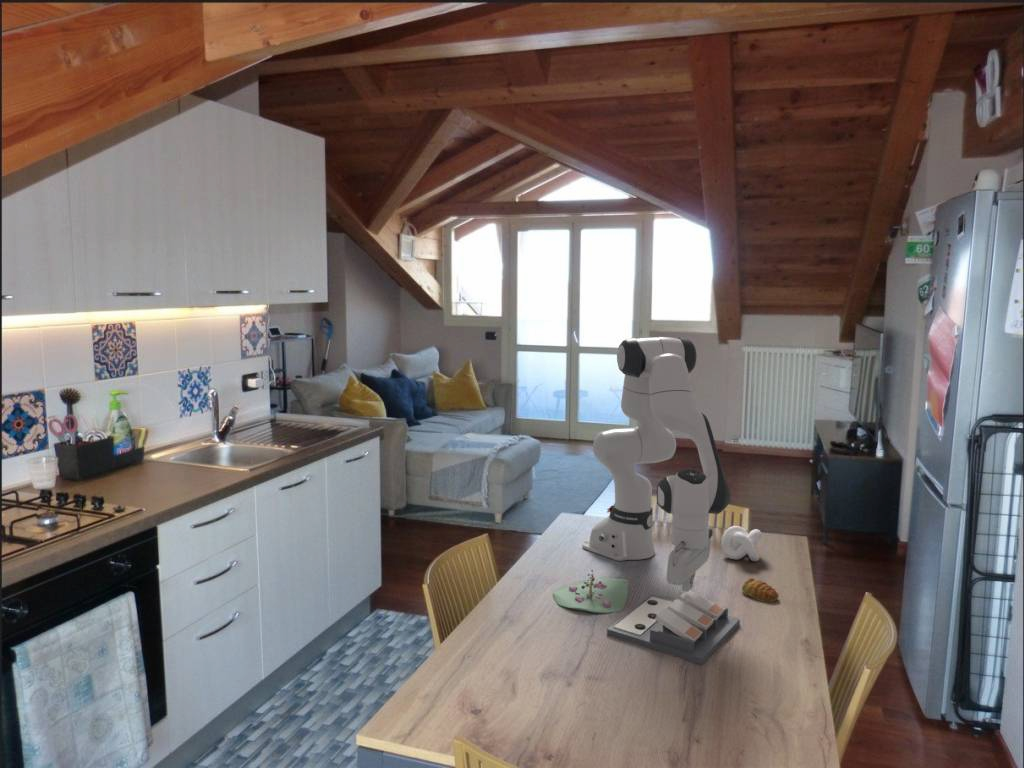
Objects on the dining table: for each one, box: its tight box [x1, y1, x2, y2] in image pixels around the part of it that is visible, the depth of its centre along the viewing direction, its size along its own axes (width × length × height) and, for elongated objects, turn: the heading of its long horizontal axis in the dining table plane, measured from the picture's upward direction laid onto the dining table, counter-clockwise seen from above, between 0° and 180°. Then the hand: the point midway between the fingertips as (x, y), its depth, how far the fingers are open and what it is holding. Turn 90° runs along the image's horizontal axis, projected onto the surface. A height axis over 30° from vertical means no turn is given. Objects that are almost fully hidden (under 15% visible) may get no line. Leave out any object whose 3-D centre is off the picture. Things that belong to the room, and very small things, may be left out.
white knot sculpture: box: [721, 525, 762, 562], centre depth 234 cm, size 11×12×9 cm
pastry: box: [741, 577, 779, 603], centre depth 209 cm, size 9×7×4 cm
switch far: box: [678, 589, 725, 619], centre depth 192 cm, size 10×5×1 cm, turn 55°
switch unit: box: [606, 594, 741, 666], centre depth 189 cm, size 24×24×4 cm
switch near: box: [655, 608, 702, 641], centre depth 181 cm, size 10×5×1 cm, turn 55°
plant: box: [552, 569, 629, 614], centre depth 209 cm, size 25×21×9 cm
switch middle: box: [668, 598, 714, 630], centre depth 187 cm, size 10×5×1 cm, turn 55°
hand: (687, 589), depth 194 cm, fingers closed
